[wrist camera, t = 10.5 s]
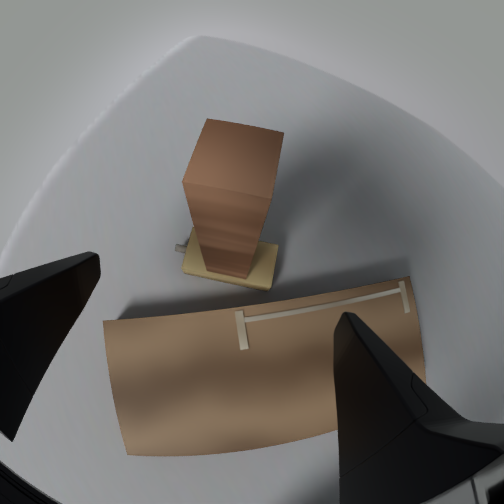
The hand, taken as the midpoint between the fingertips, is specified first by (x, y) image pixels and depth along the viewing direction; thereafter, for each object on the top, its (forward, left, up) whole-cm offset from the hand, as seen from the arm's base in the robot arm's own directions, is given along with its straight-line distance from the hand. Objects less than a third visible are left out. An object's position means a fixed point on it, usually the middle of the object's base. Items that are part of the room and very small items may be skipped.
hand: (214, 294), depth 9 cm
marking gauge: (+4, -1, -10) cm, 11 cm away
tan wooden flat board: (-5, -3, -10) cm, 11 cm away
